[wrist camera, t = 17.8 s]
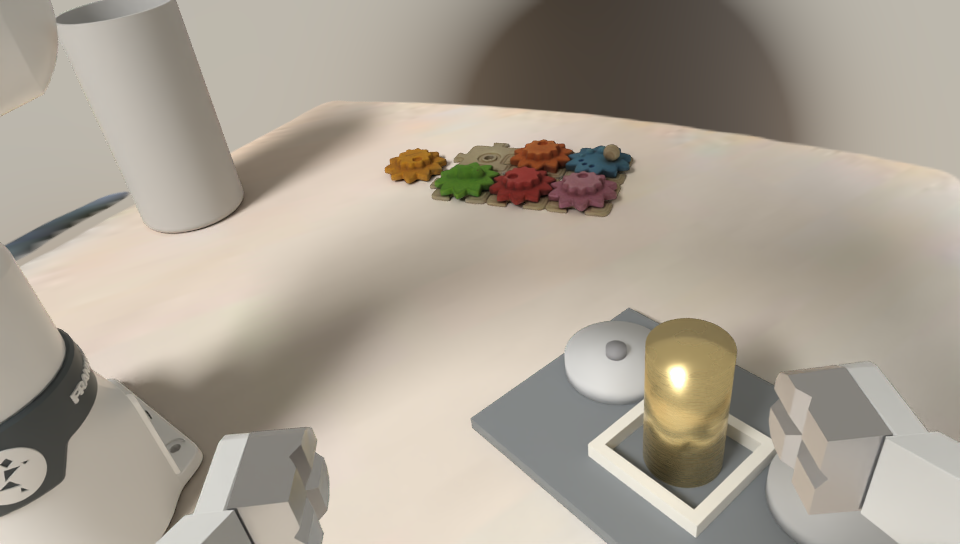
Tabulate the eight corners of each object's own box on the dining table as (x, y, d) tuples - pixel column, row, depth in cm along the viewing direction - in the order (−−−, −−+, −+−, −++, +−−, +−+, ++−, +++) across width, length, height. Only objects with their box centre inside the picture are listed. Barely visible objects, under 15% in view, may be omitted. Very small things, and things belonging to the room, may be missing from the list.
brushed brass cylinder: (633, 474, 45) (635, 366, 40) (653, 418, 49) (657, 311, 43) (714, 498, 43) (728, 386, 38) (728, 437, 47) (743, 327, 41)
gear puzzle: (364, 198, 86) (357, 169, 83) (420, 143, 98) (415, 116, 95) (609, 223, 74) (609, 190, 72) (639, 158, 86) (639, 127, 84)
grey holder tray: (472, 427, 52) (467, 397, 50) (628, 316, 60) (629, 287, 58) (794, 704, 34) (805, 674, 32) (951, 493, 43) (966, 459, 41)
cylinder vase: (263, 203, 87) (193, -3, 72) (170, 247, 80) (73, 31, 66) (218, 177, 94) (147, -12, 80) (130, 216, 88) (35, 17, 73)
